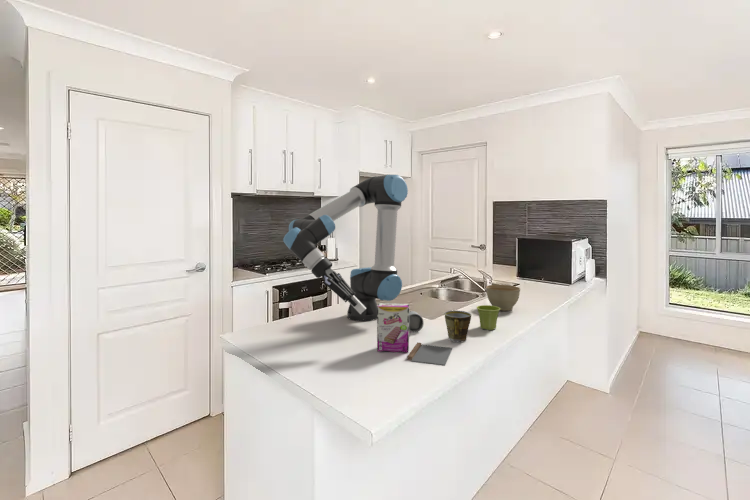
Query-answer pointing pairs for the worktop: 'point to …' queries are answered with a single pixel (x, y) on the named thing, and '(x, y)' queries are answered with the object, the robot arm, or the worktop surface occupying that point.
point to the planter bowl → (503, 296)
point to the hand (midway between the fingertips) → (363, 311)
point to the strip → (414, 351)
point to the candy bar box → (392, 327)
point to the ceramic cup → (457, 325)
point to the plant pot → (488, 316)
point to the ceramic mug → (415, 322)
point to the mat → (432, 354)
